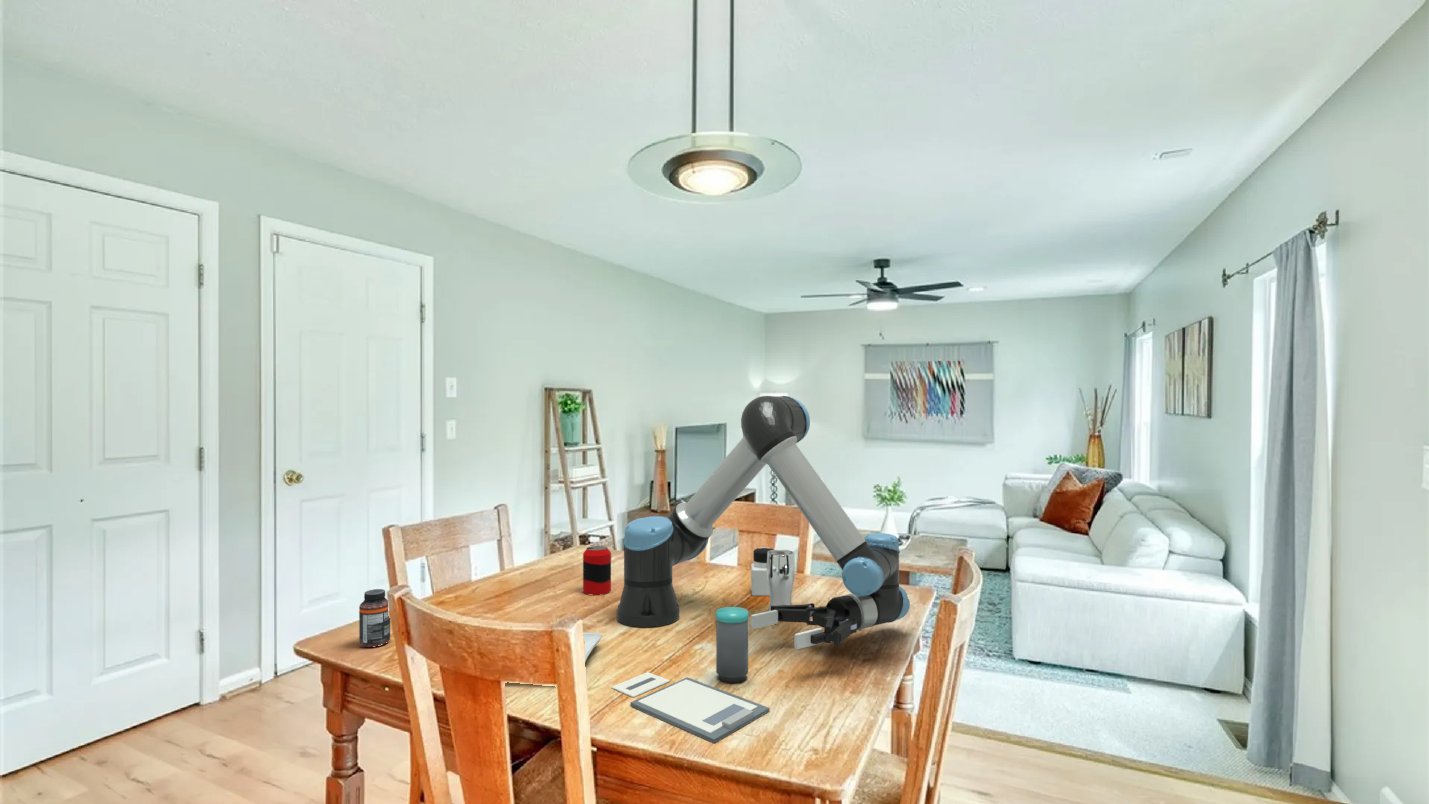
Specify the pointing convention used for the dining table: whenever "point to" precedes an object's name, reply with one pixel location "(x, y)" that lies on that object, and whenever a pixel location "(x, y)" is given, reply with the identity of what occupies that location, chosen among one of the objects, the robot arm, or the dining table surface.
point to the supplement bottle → (374, 619)
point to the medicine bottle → (760, 573)
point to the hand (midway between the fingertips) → (772, 631)
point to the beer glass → (780, 576)
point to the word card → (640, 684)
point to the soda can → (597, 570)
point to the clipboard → (700, 709)
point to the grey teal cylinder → (732, 644)
